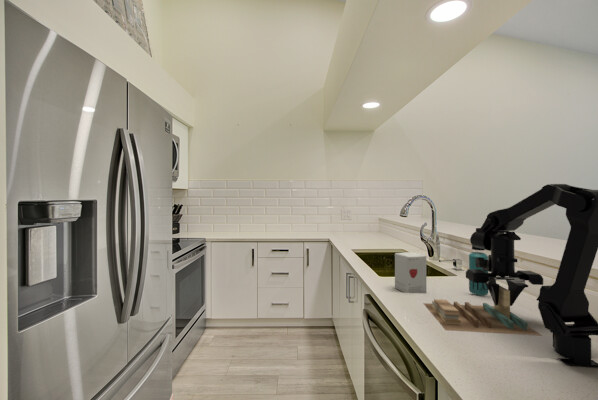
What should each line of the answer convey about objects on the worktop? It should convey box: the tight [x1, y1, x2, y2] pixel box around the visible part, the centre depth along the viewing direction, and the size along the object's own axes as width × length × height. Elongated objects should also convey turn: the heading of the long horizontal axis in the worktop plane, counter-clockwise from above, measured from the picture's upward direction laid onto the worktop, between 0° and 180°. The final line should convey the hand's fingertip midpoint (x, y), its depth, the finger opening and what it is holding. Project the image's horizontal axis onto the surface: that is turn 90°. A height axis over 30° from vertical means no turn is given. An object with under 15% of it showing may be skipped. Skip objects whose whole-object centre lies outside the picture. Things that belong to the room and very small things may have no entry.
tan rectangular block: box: [493, 285, 511, 319], centre depth 83 cm, size 5×2×9 cm, turn 172°
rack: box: [423, 301, 543, 336], centre depth 84 cm, size 20×24×3 cm
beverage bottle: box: [468, 244, 489, 296], centre depth 105 cm, size 6×7×20 cm
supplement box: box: [394, 251, 427, 294], centre depth 112 cm, size 9×9×15 cm
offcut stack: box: [431, 298, 461, 325], centre depth 85 cm, size 12×4×4 cm, turn 172°
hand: (503, 305), depth 82 cm, fingers open, 4 cm apart
